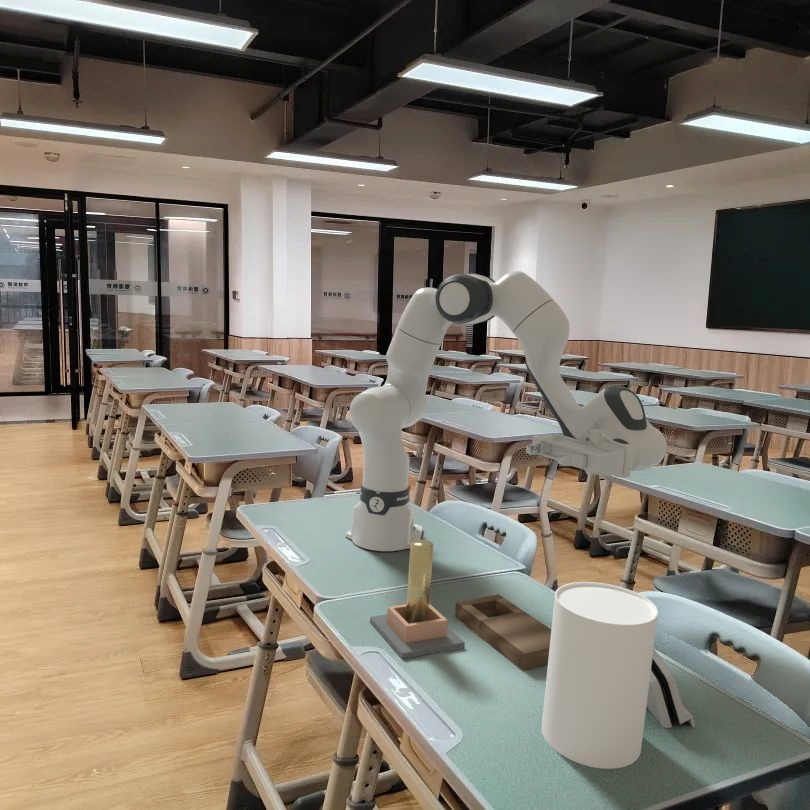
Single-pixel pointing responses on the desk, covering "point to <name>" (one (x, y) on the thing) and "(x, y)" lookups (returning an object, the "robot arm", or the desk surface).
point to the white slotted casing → (665, 695)
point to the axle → (419, 581)
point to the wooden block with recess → (507, 629)
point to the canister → (598, 673)
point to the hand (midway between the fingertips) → (543, 455)
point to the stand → (416, 633)
